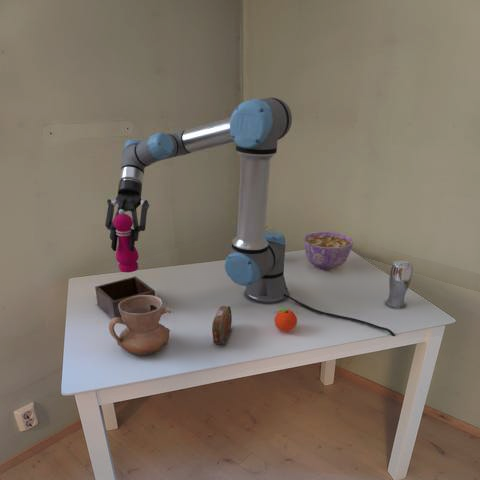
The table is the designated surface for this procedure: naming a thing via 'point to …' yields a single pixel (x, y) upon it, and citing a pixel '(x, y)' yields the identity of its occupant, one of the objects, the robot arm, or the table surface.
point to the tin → (222, 325)
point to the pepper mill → (125, 243)
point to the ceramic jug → (141, 325)
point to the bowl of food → (327, 249)
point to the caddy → (121, 294)
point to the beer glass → (399, 283)
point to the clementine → (285, 320)
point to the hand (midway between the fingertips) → (122, 249)
